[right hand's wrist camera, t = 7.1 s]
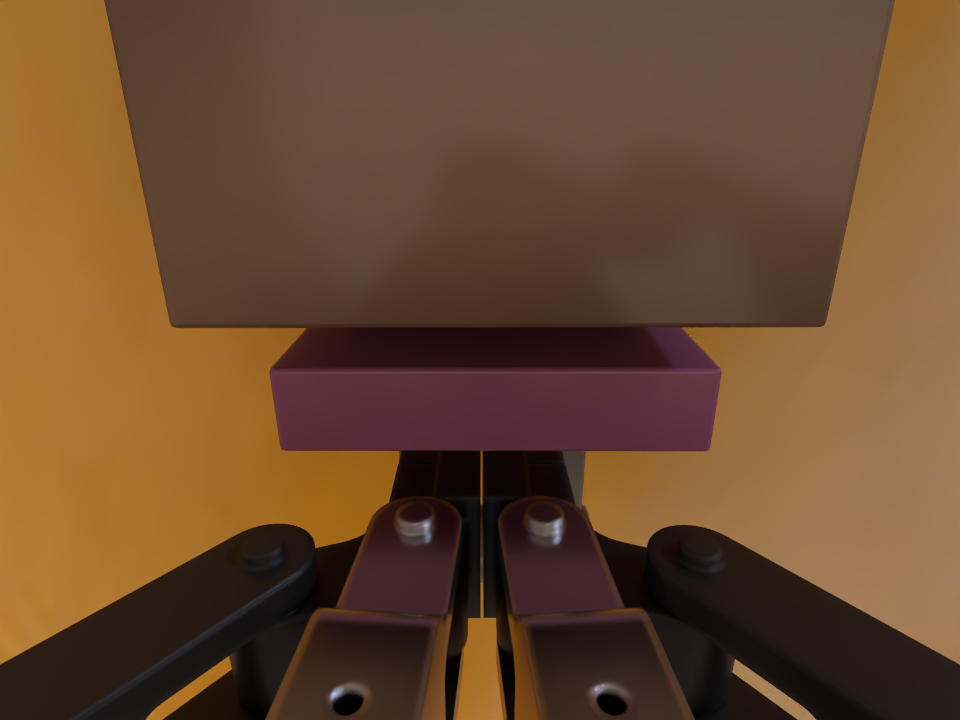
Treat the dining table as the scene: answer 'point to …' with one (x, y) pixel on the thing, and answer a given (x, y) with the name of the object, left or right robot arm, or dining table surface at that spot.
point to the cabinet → (498, 158)
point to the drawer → (496, 392)
